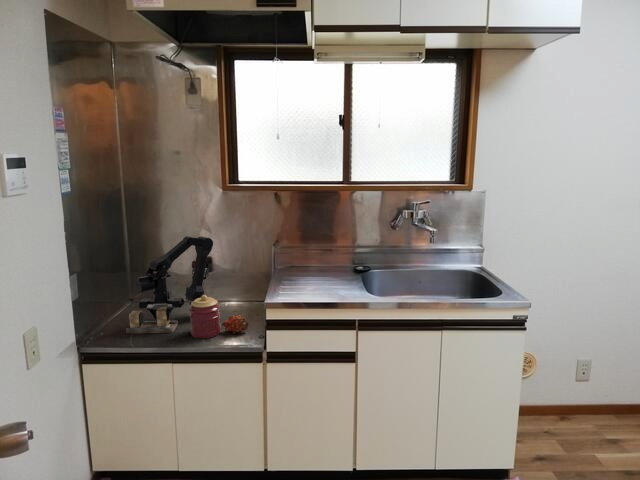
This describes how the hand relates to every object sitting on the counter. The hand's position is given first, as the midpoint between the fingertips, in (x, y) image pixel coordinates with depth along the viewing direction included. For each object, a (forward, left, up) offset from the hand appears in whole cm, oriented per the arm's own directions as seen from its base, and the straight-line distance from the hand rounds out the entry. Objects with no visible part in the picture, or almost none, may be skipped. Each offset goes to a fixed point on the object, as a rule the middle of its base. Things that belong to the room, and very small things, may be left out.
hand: (162, 321), depth 204 cm
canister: (-20, +6, -4) cm, 22 cm away
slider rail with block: (+5, 0, -4) cm, 6 cm away
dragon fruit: (-33, +6, -4) cm, 34 cm away
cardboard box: (0, 0, -1) cm, 1 cm away
